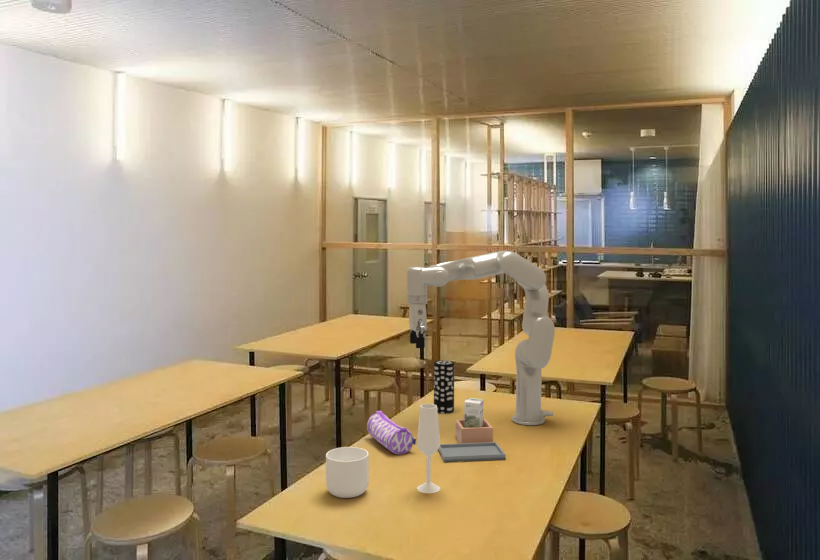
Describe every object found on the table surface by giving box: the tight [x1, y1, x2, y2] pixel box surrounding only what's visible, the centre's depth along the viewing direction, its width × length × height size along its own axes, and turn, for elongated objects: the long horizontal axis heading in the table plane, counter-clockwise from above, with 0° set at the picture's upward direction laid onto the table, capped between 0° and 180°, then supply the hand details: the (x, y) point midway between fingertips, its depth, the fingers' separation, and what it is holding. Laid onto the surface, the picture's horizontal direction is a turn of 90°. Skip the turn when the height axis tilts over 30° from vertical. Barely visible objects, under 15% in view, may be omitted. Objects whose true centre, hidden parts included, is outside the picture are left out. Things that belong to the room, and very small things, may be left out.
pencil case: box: [366, 410, 417, 455], centre depth 219 cm, size 22×9×10 cm, turn 28°
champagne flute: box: [416, 403, 441, 494], centre depth 182 cm, size 7×7×24 cm
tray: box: [437, 441, 507, 463], centre depth 211 cm, size 20×12×2 cm, turn 97°
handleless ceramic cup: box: [325, 446, 370, 499], centre depth 180 cm, size 12×12×11 cm
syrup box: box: [463, 397, 484, 428], centre depth 225 cm, size 6×6×14 cm
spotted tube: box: [433, 360, 455, 415], centre depth 262 cm, size 8×8×20 cm
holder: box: [454, 418, 494, 444], centre depth 225 cm, size 11×11×6 cm
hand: (417, 345), depth 239 cm, fingers open, 9 cm apart
